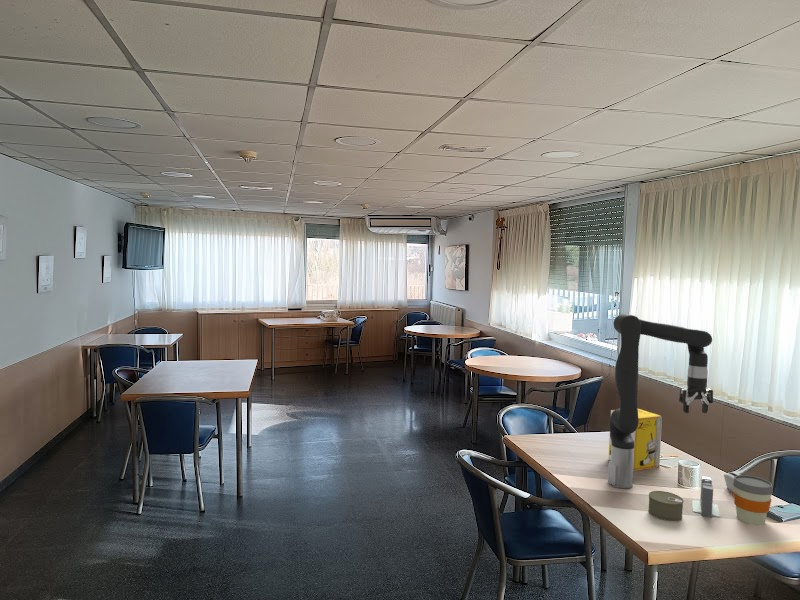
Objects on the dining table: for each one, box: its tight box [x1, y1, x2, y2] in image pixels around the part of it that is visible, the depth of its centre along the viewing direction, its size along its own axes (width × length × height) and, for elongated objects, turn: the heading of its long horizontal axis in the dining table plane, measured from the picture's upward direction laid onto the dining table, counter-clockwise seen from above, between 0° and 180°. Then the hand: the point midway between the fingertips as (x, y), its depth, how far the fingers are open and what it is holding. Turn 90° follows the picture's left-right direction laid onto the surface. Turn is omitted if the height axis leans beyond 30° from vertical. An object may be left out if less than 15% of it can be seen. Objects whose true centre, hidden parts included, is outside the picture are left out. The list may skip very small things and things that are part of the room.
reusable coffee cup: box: [732, 474, 774, 526], centre depth 200 cm, size 13×13×15 cm
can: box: [648, 490, 684, 522], centre depth 203 cm, size 12×12×7 cm
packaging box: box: [608, 408, 663, 472], centre depth 258 cm, size 16×16×25 cm
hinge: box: [723, 471, 741, 493], centre depth 222 cm, size 17×5×10 cm, turn 177°
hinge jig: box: [691, 483, 721, 519], centre depth 208 cm, size 14×9×11 cm, turn 152°
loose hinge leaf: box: [699, 475, 713, 505], centre depth 210 cm, size 3×6×11 cm, turn 152°
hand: (695, 412), depth 228 cm, fingers open, 8 cm apart
